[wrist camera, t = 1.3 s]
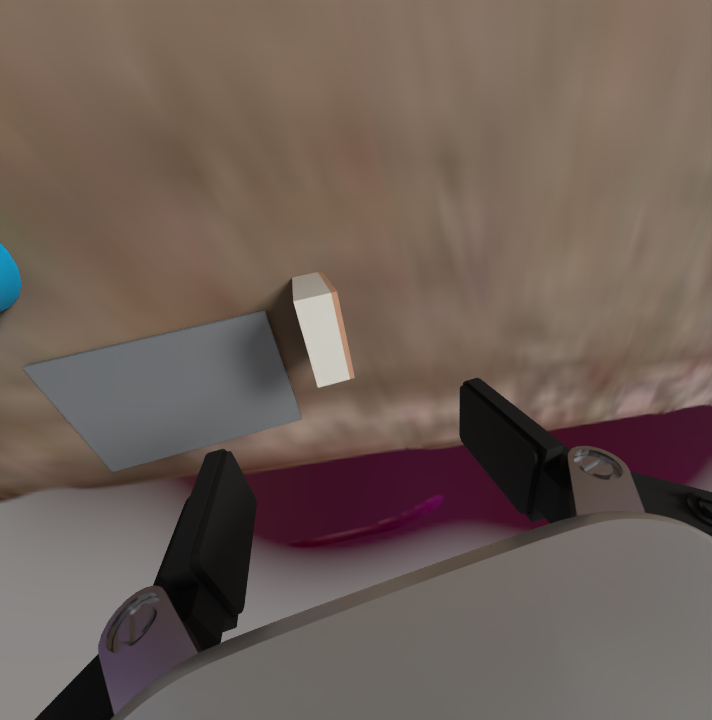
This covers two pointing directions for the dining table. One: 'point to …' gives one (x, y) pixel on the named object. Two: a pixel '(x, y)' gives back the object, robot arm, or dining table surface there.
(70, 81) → the dining table surface
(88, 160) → the dining table surface
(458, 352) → the dining table surface
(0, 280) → the mug
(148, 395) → the mat
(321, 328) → the white rectangular block
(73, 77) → the dining table surface
